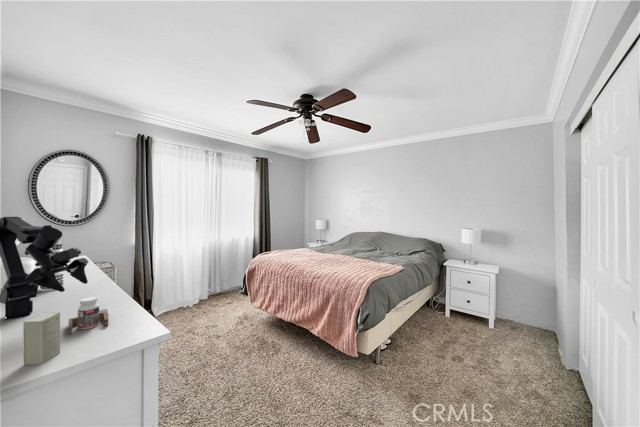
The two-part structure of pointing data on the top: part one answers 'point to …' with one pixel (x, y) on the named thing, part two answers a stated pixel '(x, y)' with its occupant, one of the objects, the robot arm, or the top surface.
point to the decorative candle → (57, 275)
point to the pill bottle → (88, 313)
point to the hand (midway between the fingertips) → (75, 286)
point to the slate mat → (104, 311)
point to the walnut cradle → (75, 321)
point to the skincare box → (41, 338)
